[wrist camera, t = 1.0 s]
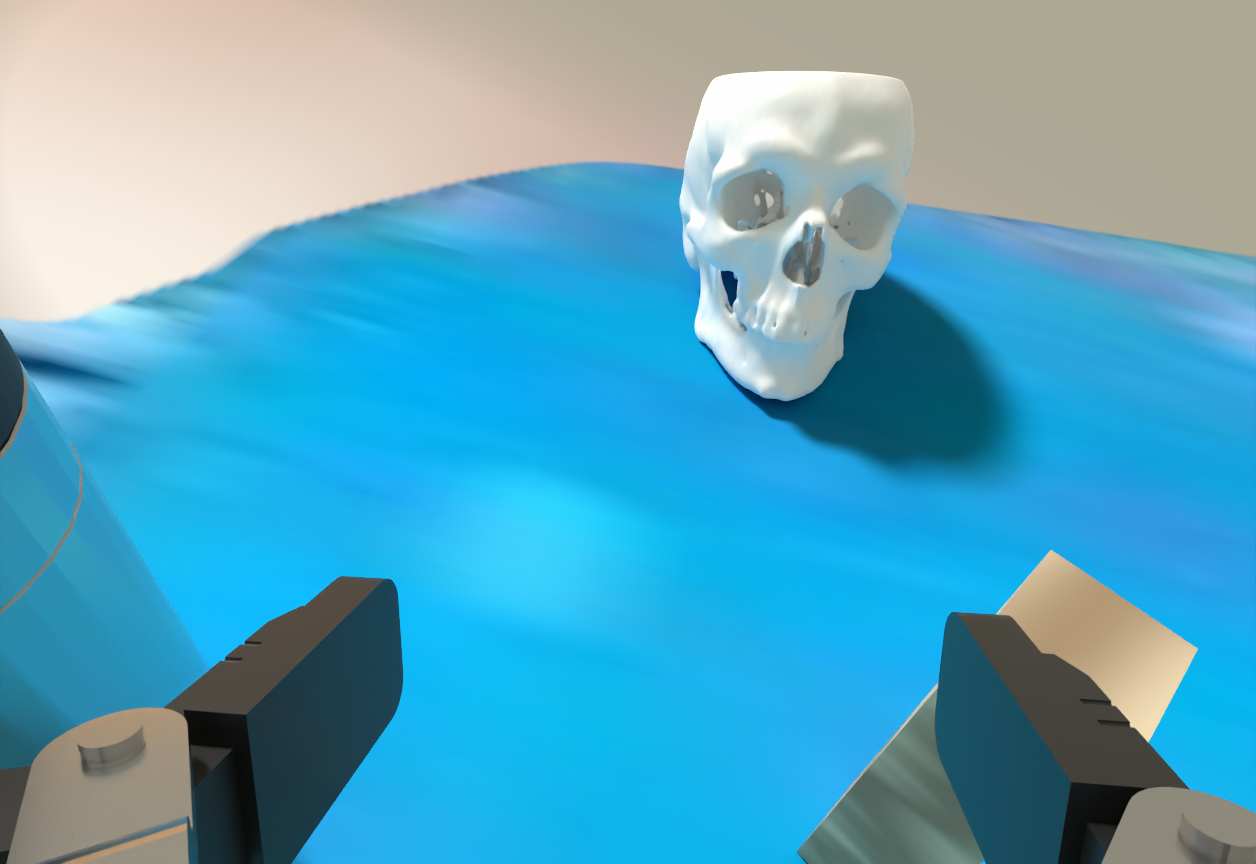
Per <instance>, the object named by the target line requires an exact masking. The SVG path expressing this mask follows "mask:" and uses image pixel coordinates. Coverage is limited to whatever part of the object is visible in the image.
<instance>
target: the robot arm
mask: <svg viewBox="0 0 1256 864" xmlns="http://www.w3.org/2000/svg"><path fill="white" fill-rule="evenodd" d="M402 685H403V665H402V650H401V634H400V619H399V604H398V593H397V589H396V586H395V584H394V582H393V581H392V580H390V579H381V578H364V577H346V576H341V577H339V578H337V579H336V580H334V581H333V582H332V583H331V584H330V585H329V586H327V587H326V588H325V589H324V590H323V591H322V592H320V593H319V594H318V595H317V596H316V597H315V598H313V599H312V600H311V601H310V602H309V603H308V604H306V605H305V606H301V607H299V608H297V609H294V610H292V611H290V612H288V613H286V614H284V615H282V616H280V617H277V618H275V619H273V620H271V621H269V622H267V623H266V624H265V625H264V626H263V627H261V628H260V629H259V630H258V631H256V632H255V633H254V634H253V635H252V636H250V637H249V638H248V639H247V640H245V644H244V645H239V646H238V647H237V648H236V649H235V650H233V651H232V652H231V653H230V654H228V655H227V656H226V658H225V661H220V662H219V663H217V664H216V665H215V666H214V667H213V668H211V669H209V667H208V665H207V664H206V662H205V660H204V659H203V657H202V655H201V654H200V652H199V650H198V649H197V647H196V645H195V643H194V641H193V639H192V638H191V636H190V635H189V633H188V631H187V630H186V628H185V626H184V625H183V623H182V622H181V620H180V618H179V617H178V615H177V613H176V612H175V610H174V609H173V607H172V605H171V604H170V602H169V600H168V599H167V597H166V596H165V594H164V592H163V591H162V589H161V587H160V586H159V584H158V583H157V581H156V579H155V578H154V576H153V574H152V573H151V571H150V570H149V568H148V566H147V565H146V563H145V561H144V560H143V558H142V557H141V555H140V553H139V552H138V550H137V548H136V547H135V545H134V544H133V542H132V540H131V539H130V537H129V535H128V534H127V532H126V531H125V529H124V527H123V526H122V524H121V522H120V521H119V519H118V518H117V516H116V514H115V513H114V511H113V509H112V508H111V506H110V505H109V503H108V501H107V500H106V498H105V496H104V495H103V493H102V492H101V490H100V488H99V487H98V485H97V483H96V482H95V480H94V479H93V477H92V475H91V474H90V472H89V470H88V469H87V467H86V466H85V464H84V462H83V461H82V459H81V457H80V456H79V454H78V453H77V451H76V449H75V448H74V446H73V445H72V444H71V443H70V441H69V439H68V438H67V436H66V434H65V433H64V431H63V430H62V428H61V426H60V425H59V423H58V421H57V420H56V418H55V417H54V415H53V413H52V412H51V410H50V408H49V407H48V405H47V404H46V402H45V400H44V399H43V397H42V395H41V394H40V392H39V391H38V389H37V387H36V386H35V384H34V383H33V381H32V379H31V378H30V376H29V374H28V373H27V371H26V370H25V368H24V366H23V365H22V363H21V361H20V360H19V359H18V357H17V355H16V354H15V352H14V350H13V349H12V347H11V345H10V344H9V342H8V340H7V339H6V337H5V336H4V334H3V332H2V331H1V329H0V864H291V863H292V862H293V860H294V859H295V857H296V856H297V854H298V853H299V852H300V850H301V849H302V847H303V846H304V844H305V843H306V842H307V840H308V839H309V837H310V836H311V834H312V833H313V831H314V830H315V829H316V827H317V826H318V824H319V823H320V821H321V820H322V819H323V817H324V816H325V814H326V813H327V811H328V810H329V809H330V807H331V806H332V804H333V803H334V801H335V800H336V798H337V797H338V796H339V794H340V793H341V791H342V790H343V788H344V787H345V786H346V784H347V783H348V781H349V780H350V778H351V777H352V776H353V774H354V773H355V771H356V770H357V768H358V767H359V765H360V764H361V763H362V761H363V760H364V758H365V757H366V755H367V754H368V753H369V751H370V750H371V748H372V747H373V745H374V744H375V743H376V741H377V740H378V738H379V737H380V735H381V734H382V733H383V731H384V730H385V728H386V727H387V725H388V724H389V722H390V721H391V720H392V718H393V716H394V714H395V712H396V710H397V707H398V704H399V701H400V697H401V692H402ZM935 737H936V744H937V750H938V754H939V757H940V760H941V763H942V765H943V768H944V770H945V772H946V774H947V777H948V779H949V781H950V783H951V786H952V788H953V790H954V792H955V795H956V797H957V799H958V801H959V804H960V806H961V808H962V810H963V813H964V815H965V817H966V819H967V822H968V824H969V826H970V828H971V831H972V833H973V835H974V837H975V840H976V842H977V844H978V846H979V849H980V851H981V853H982V855H983V858H984V860H985V862H986V864H1256V814H1255V813H1253V812H1251V811H1249V810H1247V809H1245V808H1244V807H1241V806H1239V805H1237V804H1234V803H1232V802H1230V801H1227V800H1224V799H1222V798H1219V797H1216V796H1213V795H1210V794H1206V793H1202V792H1199V791H1194V790H1190V789H1189V788H1188V787H1187V786H1186V785H1185V783H1184V782H1183V781H1182V780H1181V779H1180V778H1179V777H1178V776H1177V774H1176V773H1175V772H1174V771H1173V770H1172V769H1171V768H1170V767H1169V765H1168V764H1167V763H1166V762H1165V761H1164V760H1163V759H1162V758H1161V756H1160V755H1159V754H1158V753H1157V752H1156V751H1155V750H1154V749H1153V747H1152V746H1151V745H1150V744H1149V743H1148V742H1147V741H1146V739H1145V738H1144V737H1143V736H1142V735H1141V734H1140V733H1139V732H1138V730H1137V729H1136V728H1134V727H1130V721H1129V720H1128V719H1127V718H1126V717H1125V716H1124V715H1123V714H1122V712H1121V711H1120V710H1119V709H1118V708H1117V707H1116V706H1112V704H1111V700H1110V699H1109V698H1108V697H1107V695H1106V694H1105V693H1104V692H1103V691H1102V690H1101V689H1100V688H1099V686H1098V685H1097V684H1096V683H1095V682H1094V681H1093V680H1092V679H1091V677H1090V676H1088V675H1087V674H1085V673H1084V672H1082V671H1080V670H1079V669H1077V668H1076V667H1074V666H1073V665H1071V664H1069V663H1068V662H1066V661H1065V660H1063V659H1061V658H1060V657H1058V656H1057V655H1055V654H1047V653H1041V652H1040V650H1039V649H1038V648H1037V647H1036V645H1035V644H1034V643H1033V642H1032V641H1031V639H1030V638H1029V637H1028V636H1027V634H1026V633H1025V632H1024V631H1023V630H1022V628H1021V627H1020V626H1019V625H1018V623H1017V622H1016V621H1015V620H1014V619H1013V618H1012V617H1011V616H1009V615H994V614H976V613H959V612H952V613H951V614H950V615H949V616H948V618H947V621H946V625H945V630H944V638H943V647H942V656H941V665H940V673H939V682H938V691H937V700H936V708H935Z"/></svg>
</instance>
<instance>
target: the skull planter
mask: <svg viewBox="0 0 1256 864" xmlns="http://www.w3.org/2000/svg"><path fill="white" fill-rule="evenodd" d="M913 146H914V118H913V105H912V100H911V97H910V95H909V92H908V90H907V89H906V86H905V85H904V83H903V81H902V80H899V79H896V78H892V77H886V76H879V75H871V74H861V73H860V74H859V73H847V72H845V73H844V72H821V71H819V72H818V71H775V72H751V73H737V74H729V75H724V76H720V77H717V78H715V79H714V80H713V81H712V82H711V84H710V85H709V87H708V89H707V91H706V93H705V95H704V97H703V100H702V103H701V107H700V110H699V113H698V117H697V120H696V124H695V128H694V131H693V136H692V139H691V141H690V144H689V147H688V151H687V156H686V161H685V169H684V180H683V186H682V191H681V195H680V210H681V215H682V220H683V244H684V252H685V256H686V259H687V261H688V263H689V266H690V267H691V268H692V269H694V270H695V271H699V270H700V276H701V292H700V301H699V307H698V312H697V315H696V319H695V333H696V335H697V337H698V339H699V341H701V342H704V343H706V345H707V346H708V347H709V348H710V349H712V351H713V352H714V354H715V356H716V357H717V359H718V360H719V362H720V363H721V364H722V366H723V367H724V368H725V370H726V371H727V372H728V373H729V374H730V375H731V376H732V377H733V378H734V379H735V380H736V381H737V382H738V383H739V384H740V385H742V386H743V387H745V388H747V389H749V390H751V391H753V392H754V393H756V394H758V395H760V396H761V397H763V398H769V399H779V400H782V401H790V400H794V399H797V398H800V397H803V396H805V395H806V394H809V393H811V392H812V391H814V390H815V389H816V388H817V387H818V386H819V385H820V384H822V382H823V381H824V379H825V378H826V376H827V375H828V373H829V371H830V370H831V369H832V367H833V366H834V364H835V363H836V362H837V361H839V360H840V359H841V358H842V357H843V349H844V345H843V334H844V329H845V325H846V319H847V313H848V309H849V306H850V302H851V300H852V297H853V295H854V293H855V291H856V290H864V289H870V288H872V287H873V286H874V285H875V284H876V283H877V282H878V280H879V279H880V278H881V276H882V274H883V273H884V271H885V269H886V267H887V265H888V263H889V261H890V259H891V255H892V252H891V244H892V240H893V238H894V235H895V232H896V230H897V228H898V226H899V223H900V220H901V217H902V215H903V213H904V212H905V209H906V206H907V195H906V190H905V186H904V179H905V177H906V175H907V173H908V171H909V168H910V165H911V161H912V155H913ZM721 271H732V272H734V278H735V279H738V286H737V298H736V300H735V302H734V303H733V308H732V307H731V306H730V304H729V301H728V296H727V293H726V290H725V288H724V285H723V282H722V277H721Z"/></svg>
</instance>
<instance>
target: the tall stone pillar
mask: <svg viewBox="0 0 1256 864" xmlns="http://www.w3.org/2000/svg"><path fill="white" fill-rule="evenodd" d="M996 615H1009V616H1011V617H1012V618H1013V619H1014V620H1015V621H1016V622H1017V623H1018V625H1019V626H1020V627H1021V628H1022V630H1023V631H1024V632H1025V633H1026V634H1027V636H1028V637H1029V638H1030V639H1031V641H1032V642H1033V643H1034V644H1035V645H1036V647H1037V648H1038V649H1039V650H1040V652H1041V653H1047V654H1055V655H1057V656H1058V657H1060V658H1061V659H1063V660H1065V661H1066V662H1068V663H1069V664H1071V665H1073V666H1074V667H1076V668H1077V669H1079V670H1080V671H1082V672H1084V673H1085V674H1087V675H1088V676H1090V677H1091V679H1092V680H1093V681H1094V682H1095V683H1096V684H1097V685H1098V686H1099V688H1100V689H1101V690H1102V691H1103V692H1104V693H1105V694H1106V695H1107V697H1108V698H1109V699H1110V700H1111V704H1112V706H1116V707H1117V708H1118V709H1119V710H1120V711H1121V712H1122V714H1123V715H1124V716H1125V717H1126V718H1127V719H1128V720H1129V721H1130V727H1134V728H1136V729H1137V730H1138V732H1139V733H1140V734H1141V735H1142V736H1143V737H1144V738H1145V739H1146V741H1147V742H1149V740H1150V738H1151V736H1152V735H1153V733H1154V731H1155V729H1156V727H1157V725H1158V723H1159V721H1160V719H1161V718H1162V716H1163V714H1164V712H1165V710H1166V708H1167V706H1168V704H1169V703H1170V701H1171V699H1172V697H1173V695H1174V693H1175V691H1176V689H1177V687H1178V686H1179V684H1180V682H1181V680H1182V678H1183V676H1184V674H1185V672H1186V670H1187V669H1188V667H1189V665H1190V663H1191V661H1192V659H1193V657H1194V655H1195V653H1196V652H1197V650H1198V649H1197V648H1196V647H1194V646H1193V645H1191V644H1190V643H1188V642H1187V641H1185V640H1184V639H1183V638H1181V637H1180V636H1178V635H1177V634H1175V633H1174V632H1172V631H1171V630H1169V629H1168V628H1166V627H1165V626H1163V625H1162V624H1160V623H1159V622H1157V621H1156V620H1154V619H1153V618H1151V617H1150V616H1148V615H1147V614H1146V613H1144V612H1143V611H1141V610H1140V609H1138V608H1137V607H1135V606H1134V605H1132V604H1131V603H1129V602H1128V601H1126V600H1125V599H1123V598H1122V597H1120V596H1119V595H1117V594H1116V593H1114V592H1113V591H1111V590H1110V589H1108V588H1107V587H1106V586H1104V585H1103V584H1101V583H1100V582H1098V581H1097V580H1095V579H1094V578H1092V577H1091V576H1089V575H1088V574H1086V573H1085V572H1083V571H1082V570H1080V569H1079V568H1077V567H1076V566H1074V565H1073V564H1071V563H1070V562H1068V561H1067V560H1066V559H1064V558H1063V557H1061V556H1060V555H1058V554H1057V553H1055V552H1054V551H1052V550H1050V552H1049V553H1048V554H1047V555H1046V556H1045V557H1044V559H1043V560H1042V561H1041V562H1040V563H1039V565H1038V566H1037V567H1036V568H1035V569H1034V570H1033V572H1032V573H1031V574H1030V575H1029V576H1028V577H1027V579H1026V580H1025V581H1024V582H1023V583H1022V585H1021V586H1020V587H1019V588H1018V589H1017V590H1016V592H1015V593H1014V594H1013V595H1012V596H1011V597H1010V599H1009V600H1008V601H1007V602H1006V603H1005V604H1004V606H1003V607H1002V608H1001V609H1000V610H999V612H998V613H997V614H996ZM937 691H938V683H937V684H936V686H935V687H934V688H933V689H932V690H931V691H930V693H929V694H928V695H927V696H926V697H925V698H924V700H923V701H922V702H921V703H920V704H919V706H918V707H917V708H916V709H915V710H914V711H913V713H912V714H911V715H910V716H909V717H908V718H907V720H906V721H905V722H904V723H903V724H902V725H901V727H900V728H899V729H898V730H897V731H896V733H895V734H894V735H893V736H892V737H891V738H890V740H889V741H888V742H887V743H886V744H885V745H884V747H883V748H882V749H881V750H880V751H879V753H878V754H877V755H876V756H875V757H874V758H873V760H872V761H871V762H870V763H869V764H868V765H867V767H866V768H865V769H864V770H863V771H862V772H861V774H860V775H859V776H858V777H857V778H856V780H855V781H854V782H853V783H852V784H851V785H850V787H849V788H848V789H847V790H846V792H845V793H844V794H843V795H842V796H841V798H840V799H839V800H838V801H837V803H836V804H835V805H834V806H833V808H832V809H831V810H830V811H829V813H828V814H827V815H826V816H825V817H824V819H823V820H822V821H821V822H820V824H819V825H818V826H817V827H816V829H815V830H814V831H813V832H812V834H811V835H810V836H809V837H808V838H807V840H806V841H805V842H804V843H803V845H802V846H801V847H800V848H799V850H798V851H797V852H798V853H799V854H800V855H801V856H802V857H803V858H804V860H805V861H806V862H807V863H808V864H979V863H981V862H982V861H984V858H983V855H982V853H981V851H980V849H979V846H978V844H977V842H976V840H975V837H974V835H973V833H972V831H971V828H970V826H969V824H968V822H967V819H966V817H965V815H964V813H963V810H962V808H961V806H960V804H959V801H958V799H957V797H956V795H955V792H954V790H953V788H952V786H951V783H950V781H949V779H948V777H947V774H946V772H945V770H944V768H943V765H942V763H941V760H940V757H939V754H938V750H937V744H936V737H935V708H936V700H937Z"/></svg>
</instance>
